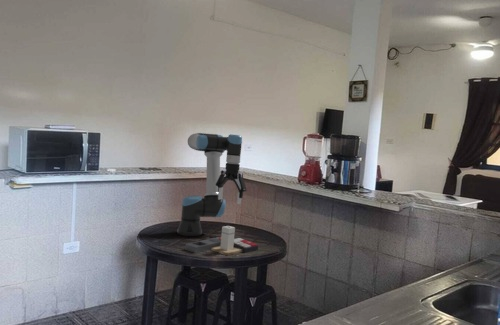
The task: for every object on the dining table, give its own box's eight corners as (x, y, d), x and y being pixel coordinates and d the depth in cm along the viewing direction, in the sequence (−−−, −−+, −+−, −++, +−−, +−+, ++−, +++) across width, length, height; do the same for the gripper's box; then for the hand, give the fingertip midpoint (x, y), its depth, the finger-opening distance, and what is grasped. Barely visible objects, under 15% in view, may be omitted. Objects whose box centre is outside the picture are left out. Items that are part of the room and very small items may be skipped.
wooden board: (211, 250, 224) (211, 247, 224) (225, 246, 233) (226, 244, 233) (227, 255, 216) (227, 253, 216) (242, 251, 226) (242, 249, 226)
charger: (220, 248, 224) (222, 226, 223) (226, 246, 228) (228, 225, 227) (227, 250, 221) (229, 228, 220) (233, 249, 225) (235, 227, 224)
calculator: (245, 247, 224) (226, 239, 234) (244, 254, 224) (225, 246, 234) (259, 244, 232) (239, 236, 242) (258, 251, 232) (239, 243, 242)
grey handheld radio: (195, 253, 216) (195, 246, 215) (184, 249, 221) (185, 242, 220) (234, 243, 240) (234, 237, 240) (224, 240, 245) (224, 234, 245)
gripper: (211, 160, 228) (208, 197, 230) (246, 166, 213) (242, 206, 215) (220, 160, 234) (217, 196, 236) (255, 165, 219) (251, 205, 221)
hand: (229, 201), depth 225 cm, fingers open, 13 cm apart
